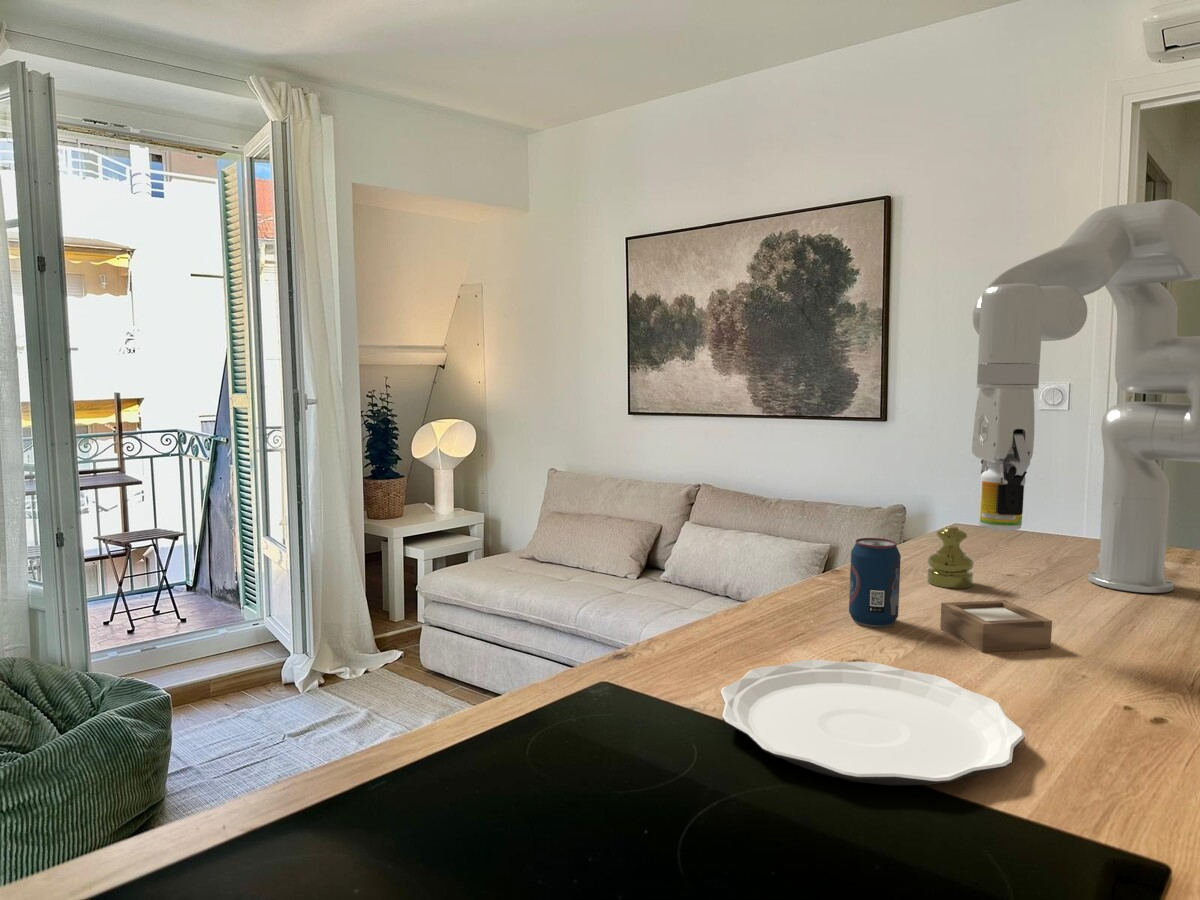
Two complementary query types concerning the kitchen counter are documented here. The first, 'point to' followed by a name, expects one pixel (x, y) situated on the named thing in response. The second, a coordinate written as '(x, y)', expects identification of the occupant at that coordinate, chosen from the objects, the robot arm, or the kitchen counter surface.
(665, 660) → the kitchen counter surface
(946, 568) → the green chess piece
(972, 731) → the plate
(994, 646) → the picture frame
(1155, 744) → the kitchen counter surface
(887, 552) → the soda can
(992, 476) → the supplement bottle
